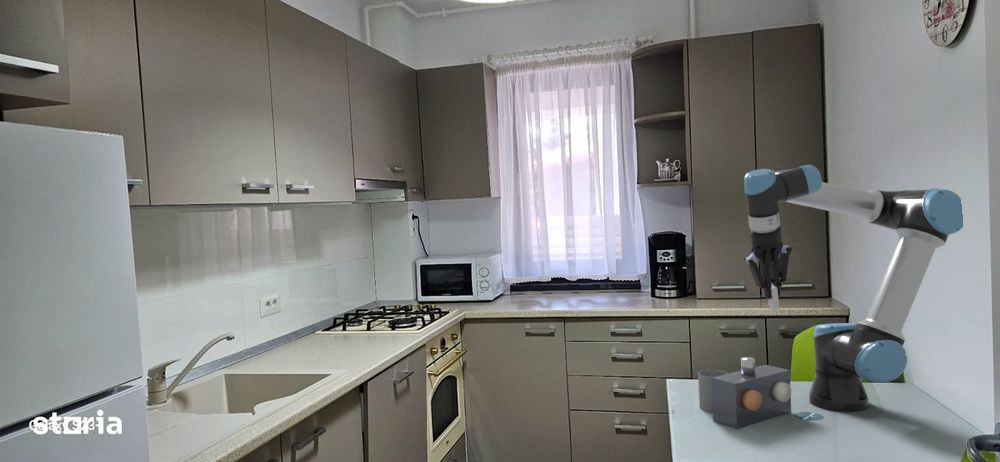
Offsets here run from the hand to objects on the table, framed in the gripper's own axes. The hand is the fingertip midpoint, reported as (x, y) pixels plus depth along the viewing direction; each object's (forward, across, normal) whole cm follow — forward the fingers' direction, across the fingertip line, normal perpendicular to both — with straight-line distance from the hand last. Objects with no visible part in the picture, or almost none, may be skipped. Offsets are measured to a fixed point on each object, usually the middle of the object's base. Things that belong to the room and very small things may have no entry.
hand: (774, 307), depth 178 cm
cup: (+29, -20, +4) cm, 35 cm away
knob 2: (+25, -7, -4) cm, 26 cm away
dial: (+16, -11, -2) cm, 20 cm away
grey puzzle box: (+27, -14, -6) cm, 31 cm away
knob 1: (+21, -17, -8) cm, 28 cm away
